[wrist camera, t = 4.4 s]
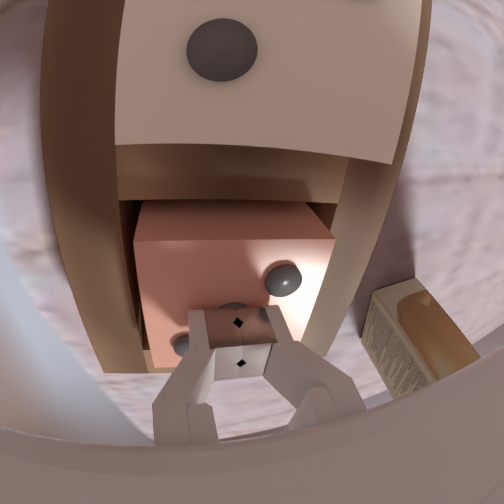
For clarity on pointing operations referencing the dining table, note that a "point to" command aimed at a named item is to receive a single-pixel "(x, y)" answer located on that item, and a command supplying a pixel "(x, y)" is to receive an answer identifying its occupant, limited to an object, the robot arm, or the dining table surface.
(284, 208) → the three-pip tile
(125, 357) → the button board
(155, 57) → the tile
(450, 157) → the dining table surface
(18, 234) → the dining table surface
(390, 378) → the skincare box
